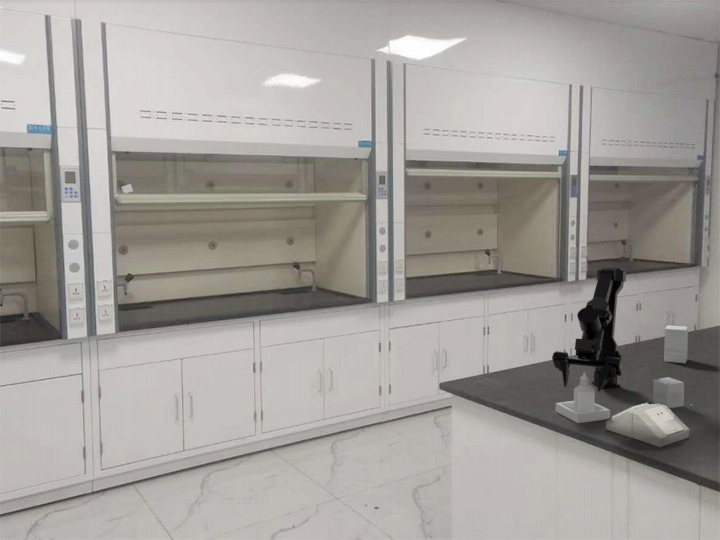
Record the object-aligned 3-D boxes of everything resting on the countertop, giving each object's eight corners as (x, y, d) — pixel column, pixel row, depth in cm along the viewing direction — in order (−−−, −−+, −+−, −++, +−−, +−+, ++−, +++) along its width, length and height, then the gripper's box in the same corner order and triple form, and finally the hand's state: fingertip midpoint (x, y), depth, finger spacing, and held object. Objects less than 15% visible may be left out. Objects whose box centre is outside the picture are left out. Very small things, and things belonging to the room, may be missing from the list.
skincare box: (684, 406, 186) (685, 382, 186) (667, 409, 185) (668, 384, 184) (668, 400, 192) (669, 376, 191) (652, 402, 191) (652, 378, 190)
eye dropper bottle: (593, 417, 178) (594, 375, 177) (572, 415, 180) (573, 374, 179) (595, 412, 182) (595, 371, 181) (574, 410, 184) (574, 370, 183)
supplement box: (687, 359, 239) (688, 326, 238) (685, 363, 233) (686, 330, 232) (666, 357, 243) (667, 324, 242) (663, 361, 237) (664, 328, 235)
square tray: (586, 407, 188) (586, 399, 188) (609, 418, 178) (610, 410, 178) (555, 411, 185) (555, 403, 185) (577, 423, 175) (577, 414, 175)
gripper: (554, 324, 187) (542, 369, 179) (621, 330, 177) (612, 378, 169) (561, 345, 194) (550, 389, 186) (626, 351, 184) (617, 399, 176)
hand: (581, 388), depth 179 cm, fingers open, 9 cm apart
